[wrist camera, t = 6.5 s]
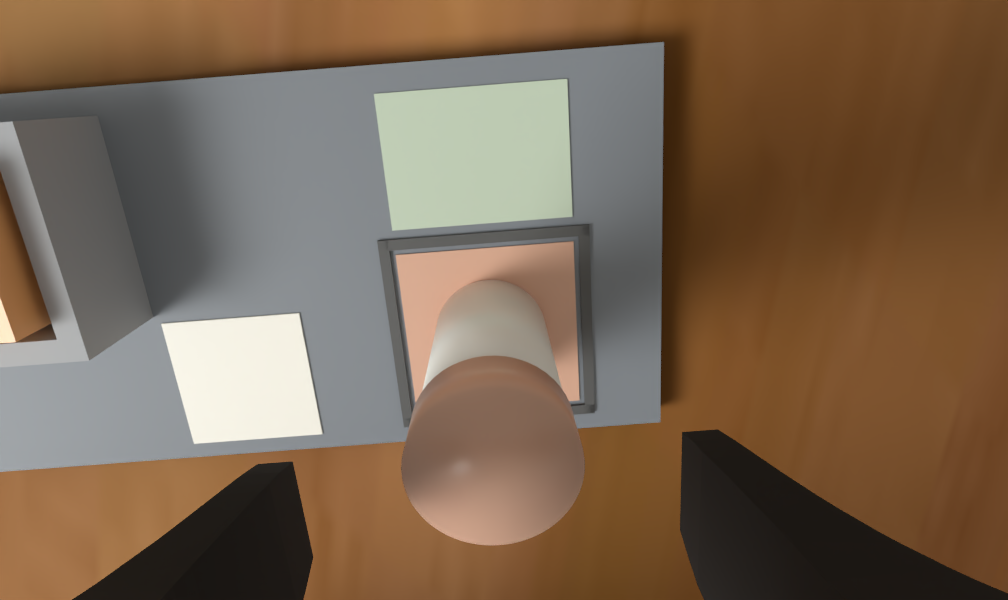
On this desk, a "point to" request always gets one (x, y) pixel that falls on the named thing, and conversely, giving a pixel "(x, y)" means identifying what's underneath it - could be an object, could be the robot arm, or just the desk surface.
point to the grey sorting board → (324, 247)
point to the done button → (17, 280)
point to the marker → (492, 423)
